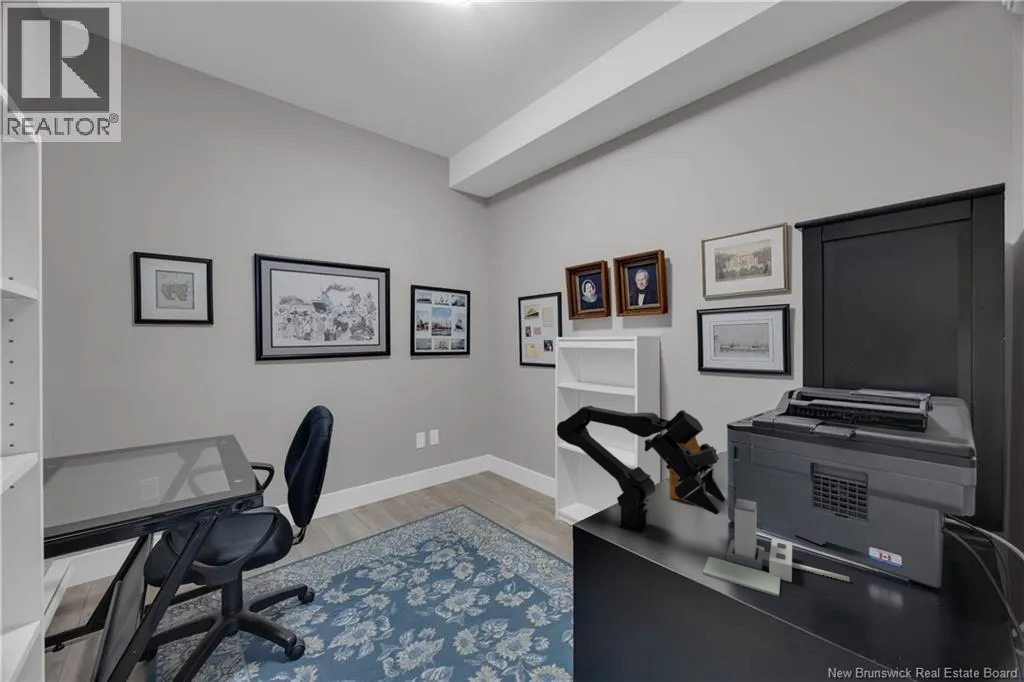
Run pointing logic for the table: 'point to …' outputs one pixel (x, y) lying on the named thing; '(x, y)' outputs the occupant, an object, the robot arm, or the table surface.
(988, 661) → the table surface
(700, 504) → the robot arm
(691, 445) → the coffee package
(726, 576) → the sage mat
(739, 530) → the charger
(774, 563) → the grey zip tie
